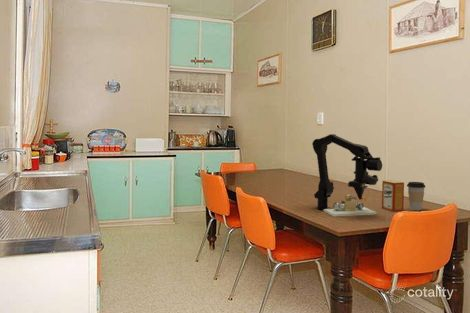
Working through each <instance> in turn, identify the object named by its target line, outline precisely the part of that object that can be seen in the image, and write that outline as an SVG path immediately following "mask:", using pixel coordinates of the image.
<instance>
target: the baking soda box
mask: <svg viewBox="0 0 470 313" xmlns="http://www.w3.org/2000/svg"><path fill="white" fill-rule="evenodd" d="M381 183H382V191H381V193H382V194H381V209H384V210H387V211H391V212H403V211H404V198H405V196H404V195H405V181H404V182H403V181H401V180H400V181H399V180H392V179H391V180H389V179H388V180H382V182H381Z"/></svg>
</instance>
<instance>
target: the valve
mask: <svg viewBox="0 0 470 313" xmlns="http://www.w3.org/2000/svg"><path fill="white" fill-rule="evenodd" d="M363 207H365V206H364V202H363V201H357V200H355V199H343V198H342V199H341V202H340V203H339V202H338V201H337V202H335V203H333V206H332V209H335V210H336V211H339V209H341V210H343V211H356V209H357V208H358V210H361V209H362V208H363Z"/></svg>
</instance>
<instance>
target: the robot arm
mask: <svg viewBox="0 0 470 313" xmlns="http://www.w3.org/2000/svg"><path fill="white" fill-rule="evenodd" d="M311 144H312V149H313V151H314V153H315V154H316V158H317V168H318V175H319V182H318V188H317V191H316V192H315V193H314V198H315V199H317V205H316V206H315V208H316V209H317V210H324V209H331V208H330V207H328V204H329V203H328V199H329V198H330V197H331V195H332V194H333V192H334V189H335V188H334V182H333V181H331V180H330V179H329V178H330V177H329V170H328V164H327V163H328V162H327V155H326V154H327V151H328V146H329V145H331V144H335V145H337V146H340V147H341V148H343V149H345V150H347V151H349V152H350V153H351V154H352V155H354V157H353V158H351V161H353V162H354V161H355V164H354V166H355V170H354V171H353V174H354V179H353V180H351V181H348V182H347V187H349V188H350V187H351V188H353V189H354V191H355V193H356V197H358V198H359V199H360V200H361V198H362V197H363V195H364V191H365V190H366V189H367V188H368V187H369V186H375V185H377V183H378V182H379V178H378V175H377V174H373V175H370V174H369V172H368V171H374V172H375V171H376V172H380V171H382V169H383V163H382V160H381V157H378V156H377V157H373V155H372V154H371V152H370V150H369V148H368V146H367V145H363V144H359V143H353V142H351V141H349V140H347V139H344V138H343V137H340V136H338V135H337V134H333V133H331V134H328V135H326V136H323V137H320V138H316V139H314V140H313V141H312V143H311ZM367 170H368V171H367ZM368 185H369V186H368Z"/></svg>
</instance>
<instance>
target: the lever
mask: <svg viewBox="0 0 470 313" xmlns="http://www.w3.org/2000/svg"><path fill="white" fill-rule="evenodd" d="M344 198H345V199H352V200H355V201H358V202H360V201H361V202H366V201H367V197H364V196H362V198H361V200H360V199H359V198H358V196H354V195H352V194H350V193H349V194H348V193H347V194H345V196H344Z"/></svg>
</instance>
